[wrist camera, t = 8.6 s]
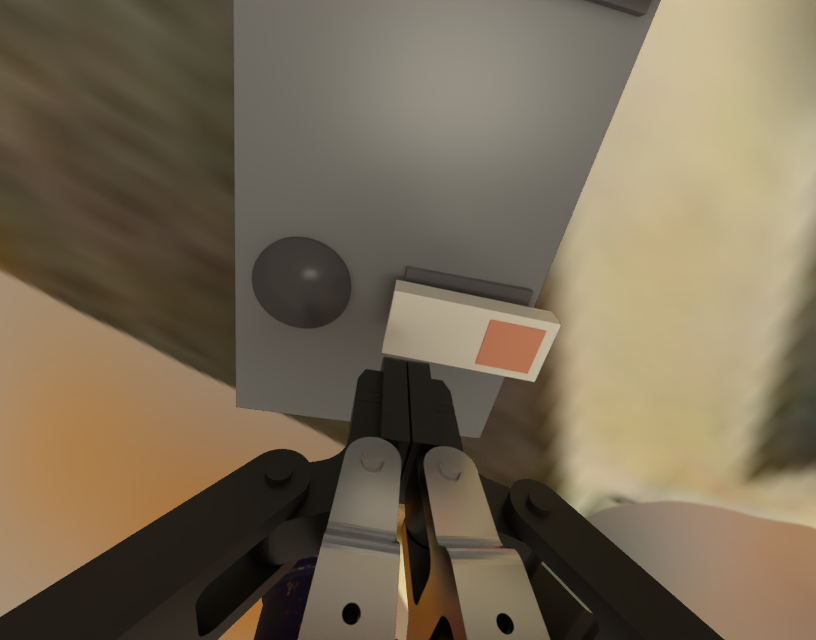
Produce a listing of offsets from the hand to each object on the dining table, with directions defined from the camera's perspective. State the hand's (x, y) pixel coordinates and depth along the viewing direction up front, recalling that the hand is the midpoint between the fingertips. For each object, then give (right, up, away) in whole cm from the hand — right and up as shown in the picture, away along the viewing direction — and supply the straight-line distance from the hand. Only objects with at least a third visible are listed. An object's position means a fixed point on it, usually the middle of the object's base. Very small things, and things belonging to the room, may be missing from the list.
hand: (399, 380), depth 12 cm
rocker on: (+3, +1, +4) cm, 5 cm away
